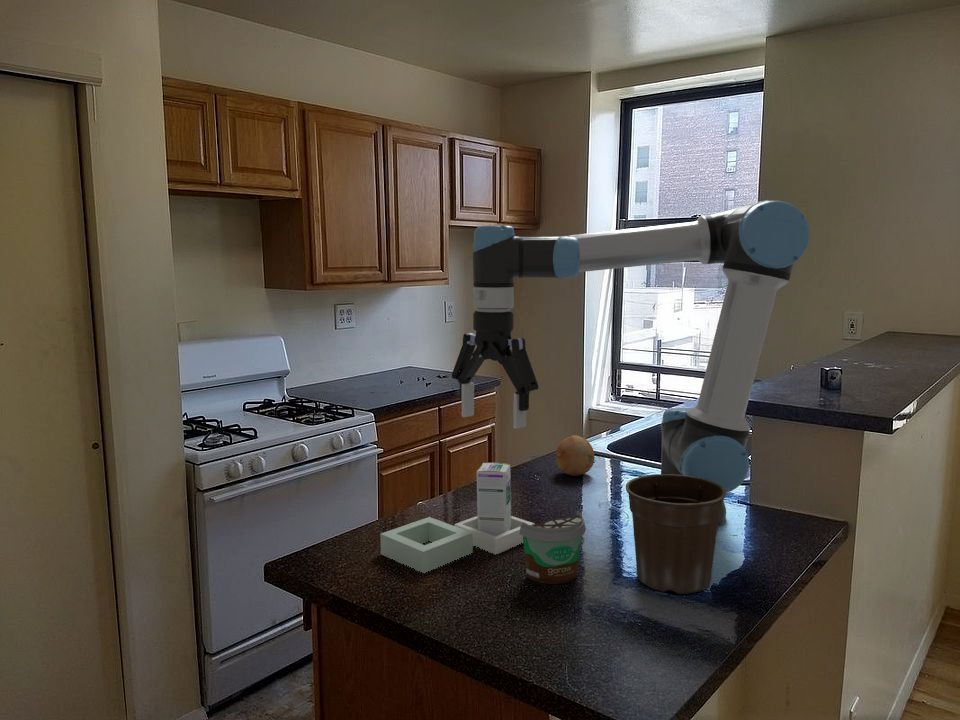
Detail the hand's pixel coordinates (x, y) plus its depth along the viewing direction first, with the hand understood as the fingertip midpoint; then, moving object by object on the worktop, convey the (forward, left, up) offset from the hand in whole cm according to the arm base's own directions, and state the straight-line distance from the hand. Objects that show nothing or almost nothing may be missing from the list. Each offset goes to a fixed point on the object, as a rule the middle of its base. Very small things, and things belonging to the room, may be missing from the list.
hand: (492, 421), depth 139 cm
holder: (0, 0, -23) cm, 23 cm away
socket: (+4, +14, -23) cm, 27 cm away
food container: (-20, +5, -24) cm, 31 cm away
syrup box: (0, 0, -24) cm, 24 cm away
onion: (+14, -44, -24) cm, 52 cm away
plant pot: (-34, -8, -24) cm, 42 cm away
